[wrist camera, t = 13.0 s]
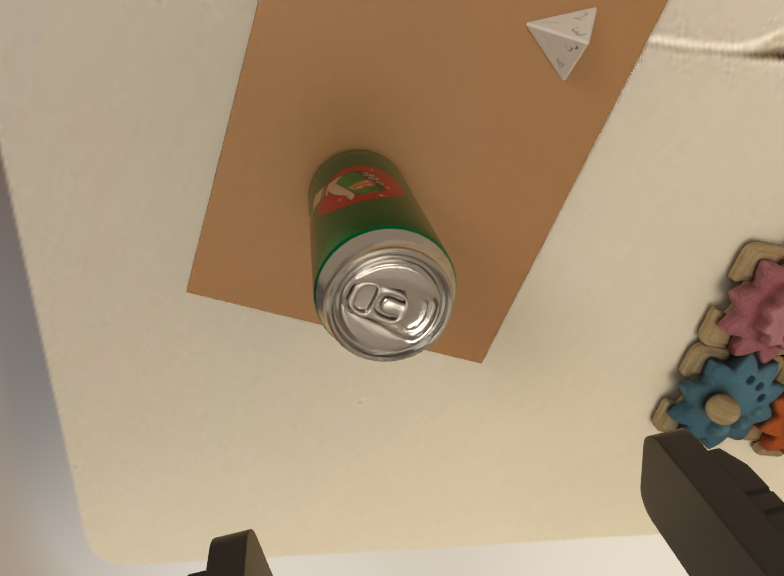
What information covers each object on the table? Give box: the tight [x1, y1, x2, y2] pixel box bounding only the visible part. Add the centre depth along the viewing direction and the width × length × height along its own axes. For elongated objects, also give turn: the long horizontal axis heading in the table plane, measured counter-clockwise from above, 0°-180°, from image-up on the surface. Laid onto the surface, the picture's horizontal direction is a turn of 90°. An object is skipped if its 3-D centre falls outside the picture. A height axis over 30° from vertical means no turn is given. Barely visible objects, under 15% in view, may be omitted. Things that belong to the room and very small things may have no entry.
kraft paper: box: [187, 0, 668, 363], centre depth 29 cm, size 18×22×1 cm
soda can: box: [308, 150, 457, 362], centre depth 24 cm, size 5×5×12 cm
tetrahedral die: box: [526, 7, 597, 80], centre depth 27 cm, size 4×3×3 cm
